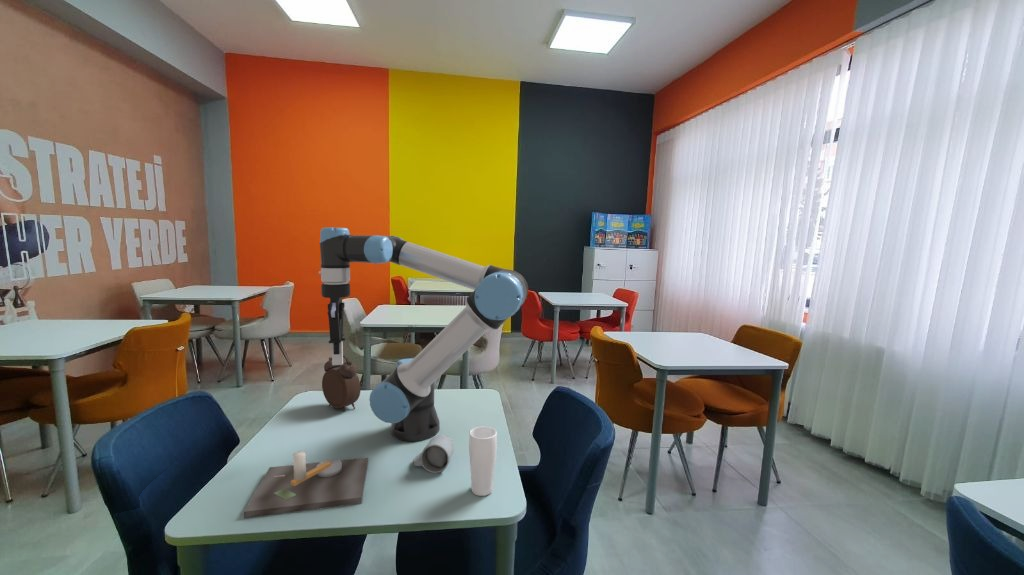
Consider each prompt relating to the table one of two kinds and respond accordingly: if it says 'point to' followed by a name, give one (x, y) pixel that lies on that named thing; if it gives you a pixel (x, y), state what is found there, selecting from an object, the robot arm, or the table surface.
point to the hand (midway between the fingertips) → (337, 364)
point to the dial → (322, 469)
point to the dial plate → (308, 489)
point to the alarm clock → (341, 384)
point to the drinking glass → (482, 459)
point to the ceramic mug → (435, 454)
